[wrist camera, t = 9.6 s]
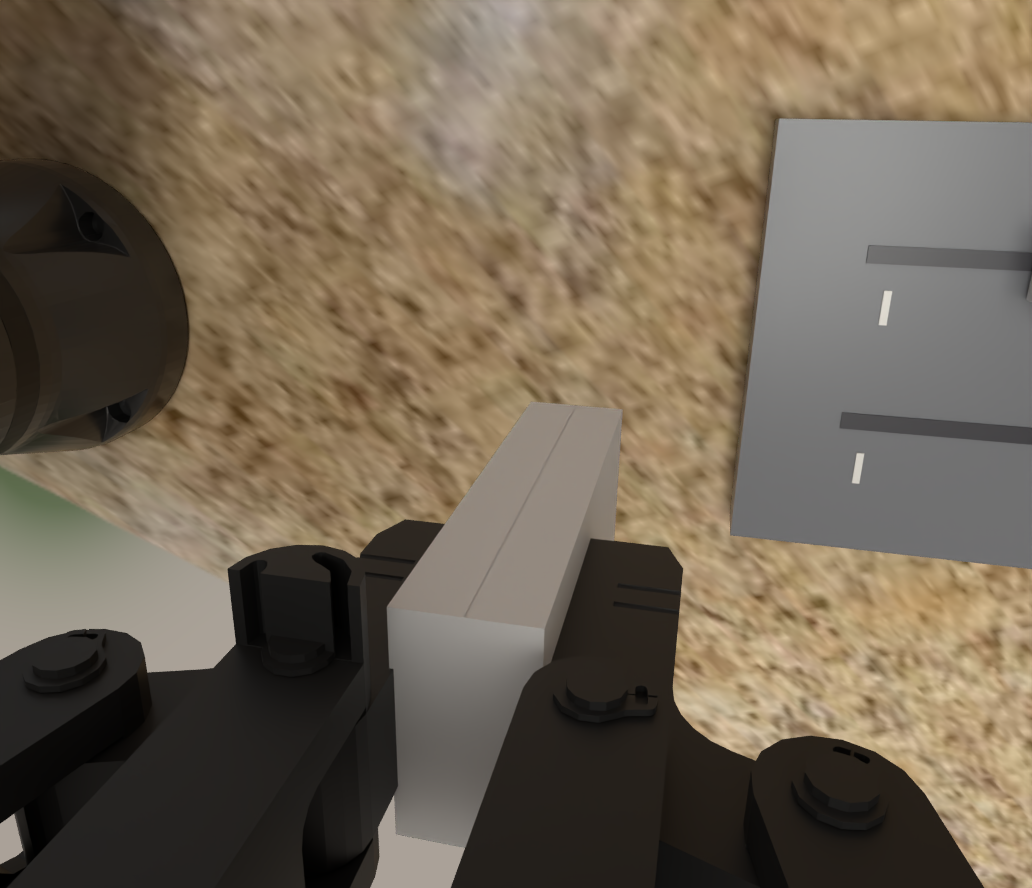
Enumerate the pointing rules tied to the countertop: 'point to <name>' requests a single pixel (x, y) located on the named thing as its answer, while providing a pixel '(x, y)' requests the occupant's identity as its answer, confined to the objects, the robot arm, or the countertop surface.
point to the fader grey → (1030, 292)
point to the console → (892, 342)
